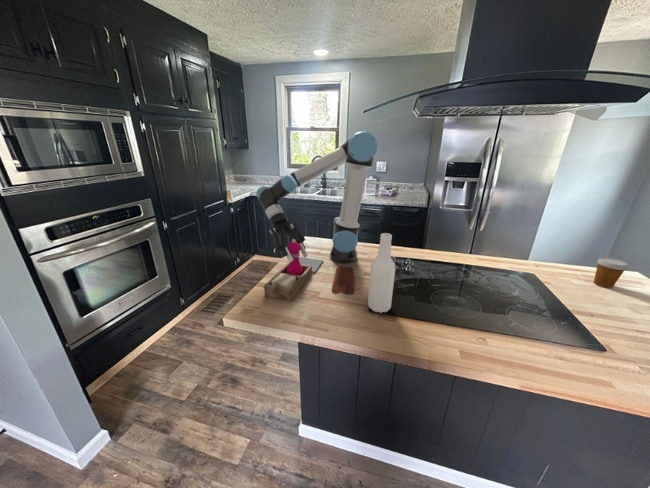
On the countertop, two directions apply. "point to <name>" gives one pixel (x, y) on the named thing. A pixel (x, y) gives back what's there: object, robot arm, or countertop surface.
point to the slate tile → (311, 263)
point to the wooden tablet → (344, 281)
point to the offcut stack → (284, 281)
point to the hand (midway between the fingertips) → (299, 258)
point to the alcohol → (382, 277)
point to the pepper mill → (294, 259)
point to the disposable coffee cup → (609, 272)
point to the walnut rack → (287, 292)
